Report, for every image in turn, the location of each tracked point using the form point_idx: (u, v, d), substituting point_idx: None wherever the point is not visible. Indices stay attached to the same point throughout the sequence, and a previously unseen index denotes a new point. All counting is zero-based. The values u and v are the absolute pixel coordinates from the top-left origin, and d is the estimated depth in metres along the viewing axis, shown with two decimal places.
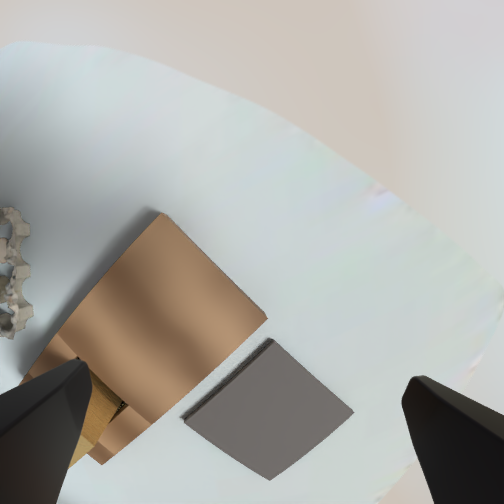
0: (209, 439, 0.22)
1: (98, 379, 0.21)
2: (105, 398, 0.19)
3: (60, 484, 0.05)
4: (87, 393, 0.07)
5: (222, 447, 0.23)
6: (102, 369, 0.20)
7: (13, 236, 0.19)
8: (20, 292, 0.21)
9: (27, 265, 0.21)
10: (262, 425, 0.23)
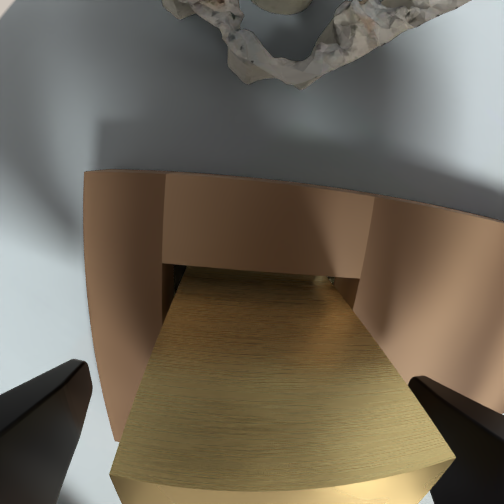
0: None
1: None
2: None
3: (60, 484, 0.05)
4: (87, 393, 0.07)
5: None
6: None
7: None
8: None
9: None
10: None
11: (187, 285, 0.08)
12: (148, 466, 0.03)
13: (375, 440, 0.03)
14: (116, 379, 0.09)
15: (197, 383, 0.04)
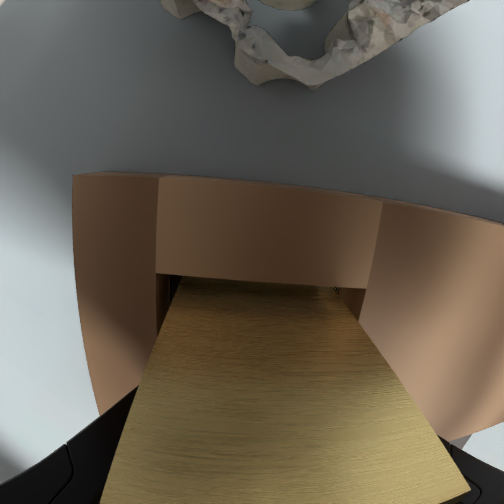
0: None
1: None
2: None
3: None
4: None
5: None
6: None
7: None
8: (333, 28, 0.08)
9: None
10: None
11: (182, 297, 0.08)
12: None
13: (387, 476, 0.03)
14: (110, 391, 0.09)
15: (192, 414, 0.04)
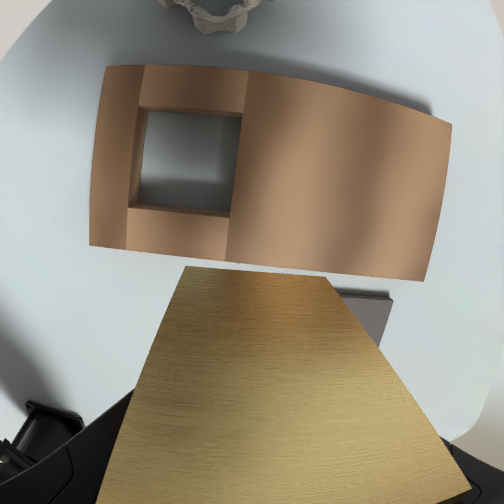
0: None
1: None
2: None
3: None
4: None
5: None
6: (254, 155, 0.15)
7: None
8: None
9: None
10: None
11: (182, 295, 0.08)
12: None
13: (387, 474, 0.03)
14: (101, 182, 0.15)
15: (190, 411, 0.04)
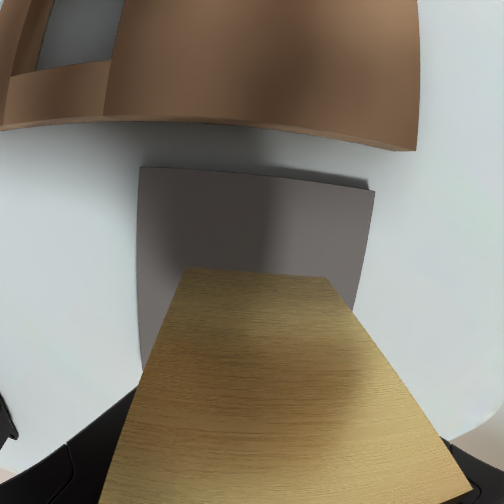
0: (141, 227, 0.13)
1: None
2: None
3: None
4: None
5: (142, 259, 0.13)
6: None
7: None
8: None
9: None
10: None
11: (182, 295, 0.08)
12: None
13: (388, 475, 0.03)
14: None
15: (192, 413, 0.04)
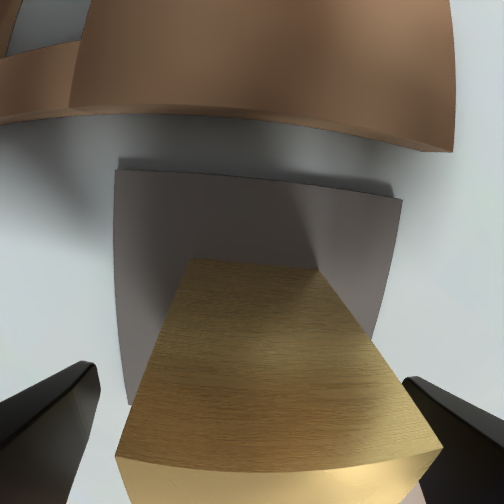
0: (118, 244, 0.10)
1: None
2: None
3: (69, 487, 0.05)
4: (95, 395, 0.07)
5: (121, 282, 0.11)
6: None
7: None
8: None
9: None
10: None
11: (188, 282, 0.08)
12: (151, 448, 0.03)
13: (365, 429, 0.04)
14: None
15: (198, 374, 0.05)
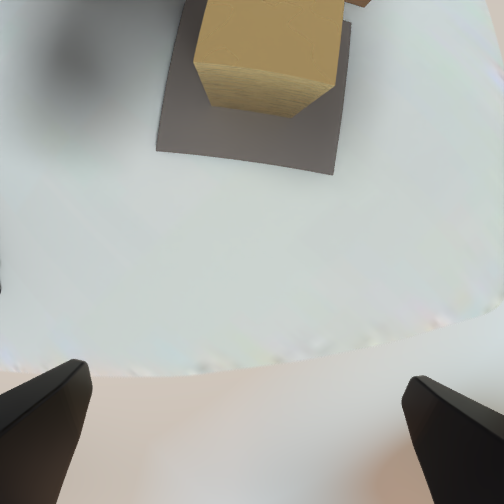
0: (181, 30, 0.14)
1: None
2: None
3: (60, 484, 0.05)
4: (87, 393, 0.07)
5: (178, 50, 0.15)
6: None
7: None
8: None
9: None
10: None
11: None
12: None
13: None
14: None
15: None
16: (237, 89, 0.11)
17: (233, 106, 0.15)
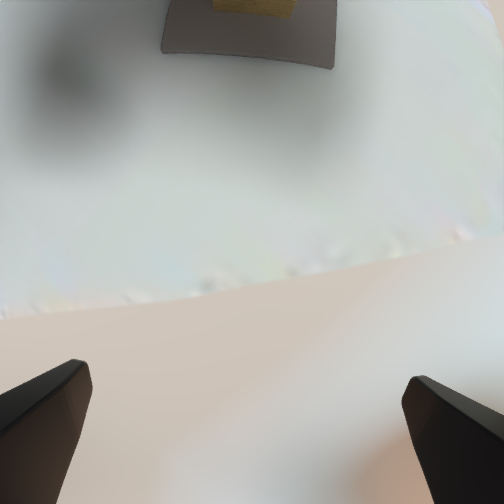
0: None
1: None
2: None
3: (60, 484, 0.05)
4: (87, 393, 0.07)
5: None
6: None
7: None
8: None
9: None
10: None
11: None
12: None
13: None
14: None
15: None
16: None
17: (234, 7, 0.14)
